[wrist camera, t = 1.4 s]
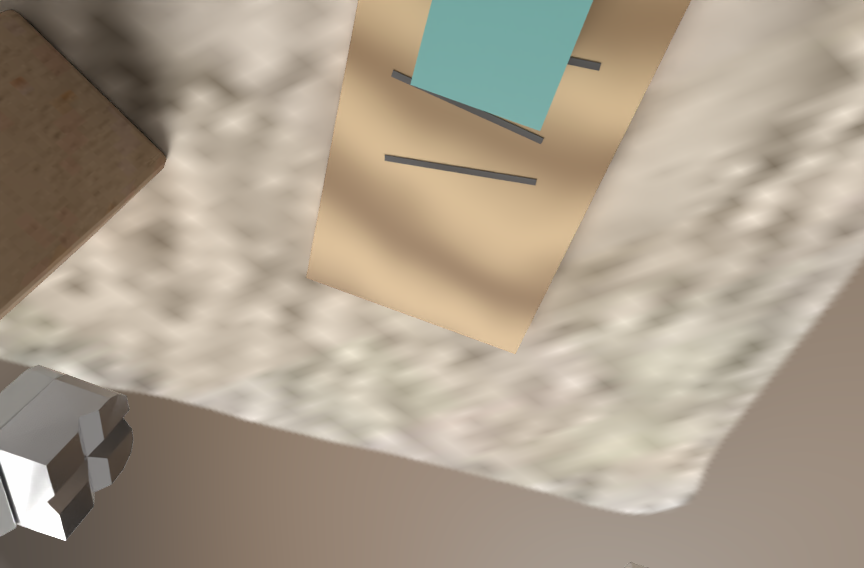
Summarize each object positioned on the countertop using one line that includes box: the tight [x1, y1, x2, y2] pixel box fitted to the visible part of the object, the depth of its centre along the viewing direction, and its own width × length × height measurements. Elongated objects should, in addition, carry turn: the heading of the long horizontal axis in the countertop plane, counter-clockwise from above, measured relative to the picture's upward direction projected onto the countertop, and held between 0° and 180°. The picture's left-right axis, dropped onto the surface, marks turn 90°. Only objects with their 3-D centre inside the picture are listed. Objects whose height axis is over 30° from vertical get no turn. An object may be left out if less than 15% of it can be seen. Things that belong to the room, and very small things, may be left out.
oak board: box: [306, 0, 691, 354], centre depth 30 cm, size 25×12×2 cm, turn 167°
